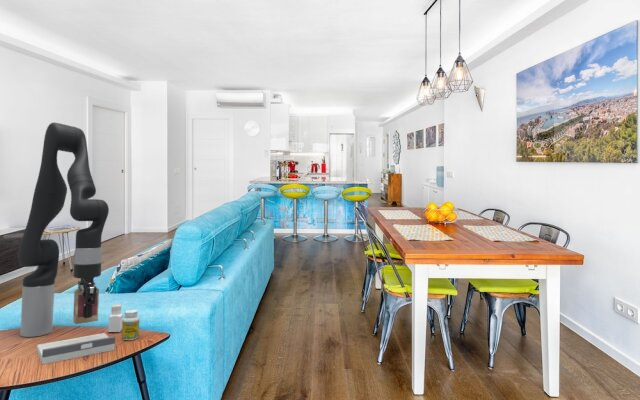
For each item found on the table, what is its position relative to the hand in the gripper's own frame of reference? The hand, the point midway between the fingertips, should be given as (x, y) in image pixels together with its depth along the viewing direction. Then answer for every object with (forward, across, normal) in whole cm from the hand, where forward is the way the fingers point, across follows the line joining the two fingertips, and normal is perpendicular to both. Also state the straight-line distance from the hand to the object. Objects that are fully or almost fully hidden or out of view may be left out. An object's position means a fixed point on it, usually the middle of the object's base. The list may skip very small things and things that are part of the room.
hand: (85, 315), depth 121 cm
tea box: (+2, 0, 0) cm, 2 cm away
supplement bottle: (+12, +4, -15) cm, 19 cm away
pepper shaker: (+11, +15, -13) cm, 23 cm away
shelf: (+11, +3, +2) cm, 12 cm away
